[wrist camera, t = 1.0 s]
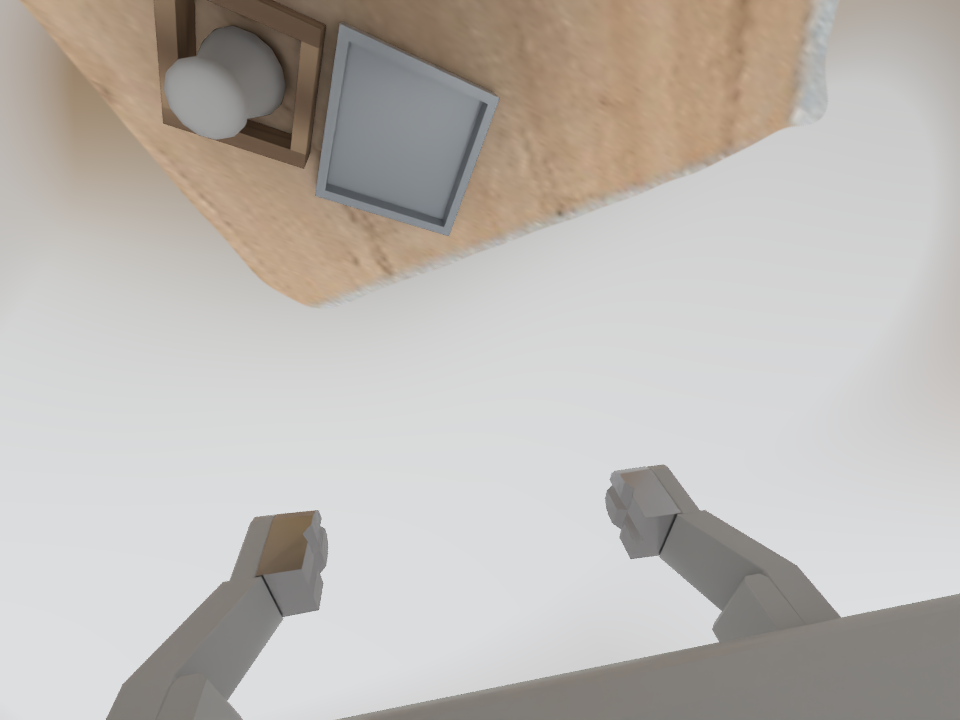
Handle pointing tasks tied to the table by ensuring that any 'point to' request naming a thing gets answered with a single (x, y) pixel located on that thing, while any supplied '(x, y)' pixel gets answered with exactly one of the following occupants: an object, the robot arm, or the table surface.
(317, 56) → the socket block
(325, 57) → the table surface
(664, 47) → the table surface
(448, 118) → the tray
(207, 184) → the table surface
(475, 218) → the table surface
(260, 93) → the salt shaker
